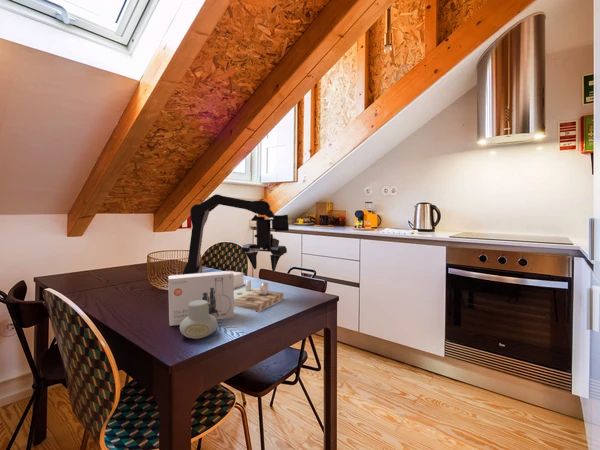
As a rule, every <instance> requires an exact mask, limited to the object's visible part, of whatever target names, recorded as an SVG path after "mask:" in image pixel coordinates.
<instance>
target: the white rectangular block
mask: <svg viewBox="0 0 600 450" xmlns="http://www.w3.org/2000/svg"><path fill="white" fill-rule="evenodd" d="M232 272H233V274H234V289H236V288H239V287H242V286H244V272H239V271H232Z"/></svg>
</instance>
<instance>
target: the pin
mask: <svg viewBox="0 0 600 450" xmlns="http://www.w3.org/2000/svg"><path fill="white" fill-rule="evenodd" d="M259 289H261V296H268V291H269V283H268V282H260V288H259Z"/></svg>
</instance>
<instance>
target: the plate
mask: <svg viewBox="0 0 600 450" xmlns="http://www.w3.org/2000/svg"><path fill="white" fill-rule="evenodd" d="M258 290H261V288H258V287H252V280H251V279H247V280H245V286H243V287H241V288H238V289H234V298H235V299H238V298H240V297H243V296H245V295H248V294H250V293H253V292H255V291H258Z"/></svg>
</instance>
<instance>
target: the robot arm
mask: <svg viewBox="0 0 600 450" xmlns="http://www.w3.org/2000/svg"><path fill="white" fill-rule="evenodd" d="M221 205H222V206H227V207H231V208H236V209H241V210H247V211H249V212H252V213H254V215H253V217H252V218H251V220H250V221H252V222H255V224H256V225H255V227H256V230H255V232H256V234H254V238H256V243H247V244H243V245H242V246H241V252H242V253H244V255H246V257H247V259H248V260H249V262H250V264H251V266H252V268H253V270H257V264H258V263H257V262H258V261H257V257H258V253H259V252H265V253H266V252H270V253H271V254H270V255H269V257H270V264H271V270H272V272H275V271H276V268H277V266H278V262H279V260H280V258H281V257H282V256H284V254H288V253H287V251H288V250H287V247H286V246H285V245H279V243H280V240H279V239H277V238H275V237H274V235H273V233H271V232H272V231H271V229H272V230H274V232H276V233H277V232H280V233H281V232H284V233H286V232H289V231H290V230H289V228H290V223H289V214H282V215H281V214H280V215H276V214H275V212H273V210H272V209H271V204H270V203H269V202H268V201H266V200H247V199H242V198H235V197H232V196H231V197H230V196H224V195H222V194H217V193H215V194H213V195H212V196H210V197H209V198H207V199H206V200H204V201H202V202H201V203H200V204H198V203H197V204H193V206H192V207H191V208H190V213H189V214H190V215H189V216H190V222H191V226H192V227H191V232H190V233H191V234H190V235H191V236H190V243H189V250H188V251H189V252H188V258H187V262H186V264H185V266H184V269H183V271H182V274H181V275H184V274H196V273H203V269H204V264H203V265H202V264H200V263H201V262H200V257H201V248H202V242H203V235H204V228H205V225H206V224H207V221H208V217H209V214H210V212H212V211H213V210H214V209H215V208H217V207H218V206H221ZM258 215H260V216H258ZM266 217H267V218H266Z"/></svg>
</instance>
